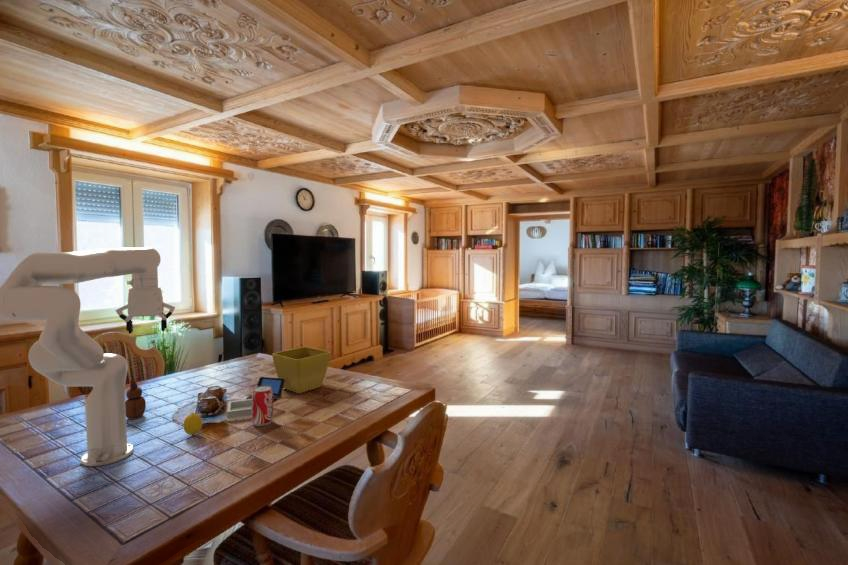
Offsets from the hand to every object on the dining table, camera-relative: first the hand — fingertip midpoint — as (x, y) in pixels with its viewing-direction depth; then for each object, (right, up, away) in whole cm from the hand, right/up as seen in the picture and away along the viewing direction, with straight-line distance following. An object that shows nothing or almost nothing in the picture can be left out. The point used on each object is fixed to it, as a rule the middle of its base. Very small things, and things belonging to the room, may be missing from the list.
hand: (147, 331), depth 143 cm
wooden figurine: (-11, -34, +9) cm, 36 cm away
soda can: (+39, -34, +5) cm, 52 cm away
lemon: (+20, -35, -6) cm, 41 cm away
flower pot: (+42, -32, +44) cm, 68 cm away
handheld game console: (+30, -33, +31) cm, 54 cm away
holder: (+28, -33, +13) cm, 46 cm away
